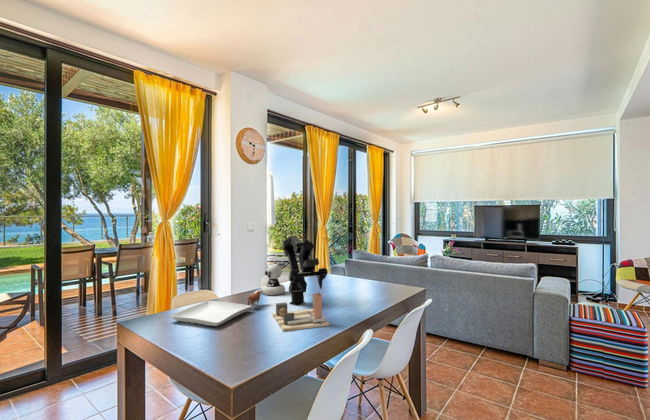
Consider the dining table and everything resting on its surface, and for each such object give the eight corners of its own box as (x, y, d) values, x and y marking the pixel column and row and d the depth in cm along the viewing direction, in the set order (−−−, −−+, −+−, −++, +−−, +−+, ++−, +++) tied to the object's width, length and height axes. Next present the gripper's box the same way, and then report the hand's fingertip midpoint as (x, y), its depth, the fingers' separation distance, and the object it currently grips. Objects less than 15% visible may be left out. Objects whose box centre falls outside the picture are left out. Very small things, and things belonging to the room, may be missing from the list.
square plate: (168, 323, 152) (168, 315, 152) (208, 307, 178) (208, 299, 178) (217, 330, 143) (217, 321, 143) (252, 312, 168) (252, 304, 168)
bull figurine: (264, 303, 183) (264, 288, 183) (251, 310, 170) (251, 294, 170) (258, 302, 184) (257, 287, 184) (244, 309, 172) (244, 293, 172)
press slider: (282, 322, 148) (282, 295, 148) (321, 317, 154) (321, 292, 154) (286, 326, 142) (285, 299, 142) (325, 321, 148) (325, 295, 148)
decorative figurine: (256, 293, 204) (255, 261, 204) (272, 289, 216) (272, 258, 216) (273, 297, 195) (273, 263, 195) (290, 292, 207) (289, 260, 207)
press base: (272, 315, 161) (272, 303, 161) (313, 310, 168) (313, 299, 168) (283, 331, 140) (282, 317, 140) (329, 325, 147) (329, 311, 147)
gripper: (290, 253, 159) (296, 281, 149) (326, 251, 165) (334, 278, 155) (286, 267, 166) (291, 294, 156) (321, 265, 173) (328, 291, 162)
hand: (312, 289), depth 157 cm, fingers open, 9 cm apart
